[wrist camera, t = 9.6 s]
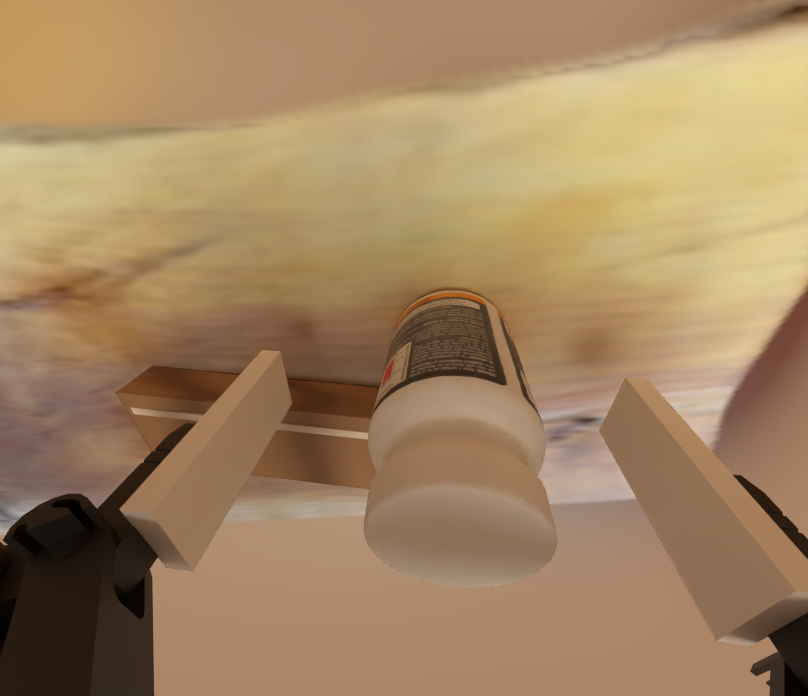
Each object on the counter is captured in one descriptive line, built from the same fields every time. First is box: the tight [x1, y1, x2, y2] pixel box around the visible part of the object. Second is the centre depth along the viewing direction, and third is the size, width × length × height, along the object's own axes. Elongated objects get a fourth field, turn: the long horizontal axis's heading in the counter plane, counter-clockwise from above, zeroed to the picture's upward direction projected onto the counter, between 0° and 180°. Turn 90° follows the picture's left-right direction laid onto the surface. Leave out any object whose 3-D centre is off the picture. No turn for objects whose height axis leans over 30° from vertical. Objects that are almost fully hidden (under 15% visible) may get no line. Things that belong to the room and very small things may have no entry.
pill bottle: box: [364, 290, 557, 587], centre depth 12 cm, size 6×6×10 cm
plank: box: [116, 366, 379, 489], centre depth 19 cm, size 20×6×3 cm, turn 89°
